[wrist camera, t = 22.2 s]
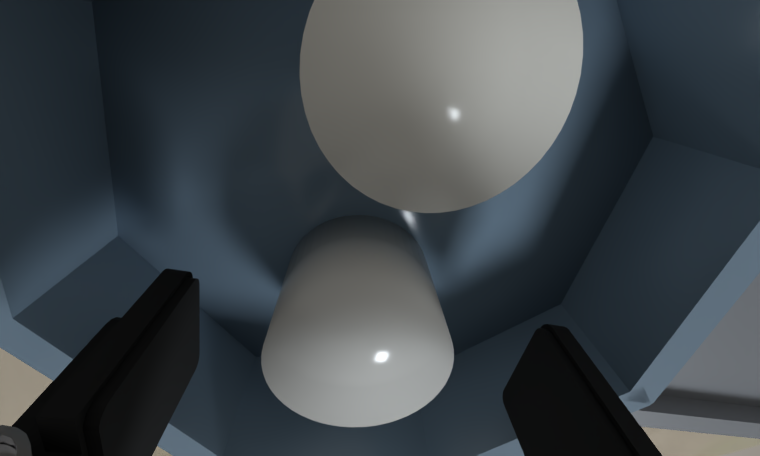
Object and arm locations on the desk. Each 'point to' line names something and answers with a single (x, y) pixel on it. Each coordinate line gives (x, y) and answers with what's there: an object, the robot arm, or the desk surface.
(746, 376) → the tray
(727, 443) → the desk surface
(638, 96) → the bowl
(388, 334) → the pebble
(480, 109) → the pebble
